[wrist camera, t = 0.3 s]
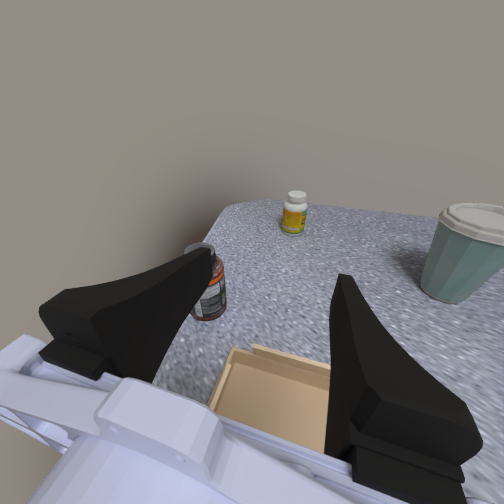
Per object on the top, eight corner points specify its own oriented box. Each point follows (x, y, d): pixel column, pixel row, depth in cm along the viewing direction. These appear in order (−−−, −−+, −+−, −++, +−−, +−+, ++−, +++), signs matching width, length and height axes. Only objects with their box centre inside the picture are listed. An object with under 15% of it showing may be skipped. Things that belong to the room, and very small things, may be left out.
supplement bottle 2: (283, 224, 60) (286, 188, 54) (304, 227, 58) (310, 190, 53) (279, 235, 55) (283, 196, 50) (302, 238, 54) (308, 199, 49)
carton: (420, 646, 15) (449, 657, 13) (171, 517, 19) (162, 510, 17) (386, 407, 26) (398, 392, 24) (233, 359, 30) (232, 343, 28)
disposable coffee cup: (412, 304, 38) (460, 223, 29) (400, 265, 46) (435, 193, 38) (490, 321, 35) (569, 238, 27) (463, 276, 44) (517, 202, 35)
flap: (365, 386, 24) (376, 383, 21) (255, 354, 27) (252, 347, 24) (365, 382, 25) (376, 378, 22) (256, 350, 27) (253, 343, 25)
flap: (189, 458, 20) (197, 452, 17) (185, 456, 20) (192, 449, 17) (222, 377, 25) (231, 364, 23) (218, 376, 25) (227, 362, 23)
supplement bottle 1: (189, 296, 39) (176, 240, 32) (224, 291, 40) (219, 235, 34) (189, 326, 34) (175, 266, 28) (229, 318, 35) (225, 260, 29)
